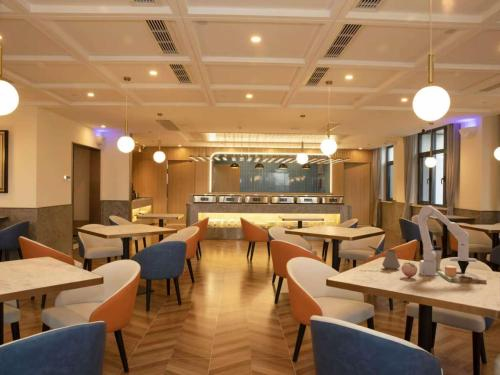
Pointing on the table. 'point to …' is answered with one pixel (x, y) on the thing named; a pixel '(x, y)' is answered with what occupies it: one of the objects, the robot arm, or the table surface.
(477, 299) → the table surface
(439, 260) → the coffee cup
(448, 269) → the block
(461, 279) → the trap board
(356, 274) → the table surface
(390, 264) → the coffee pot
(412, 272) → the decorative fruit
